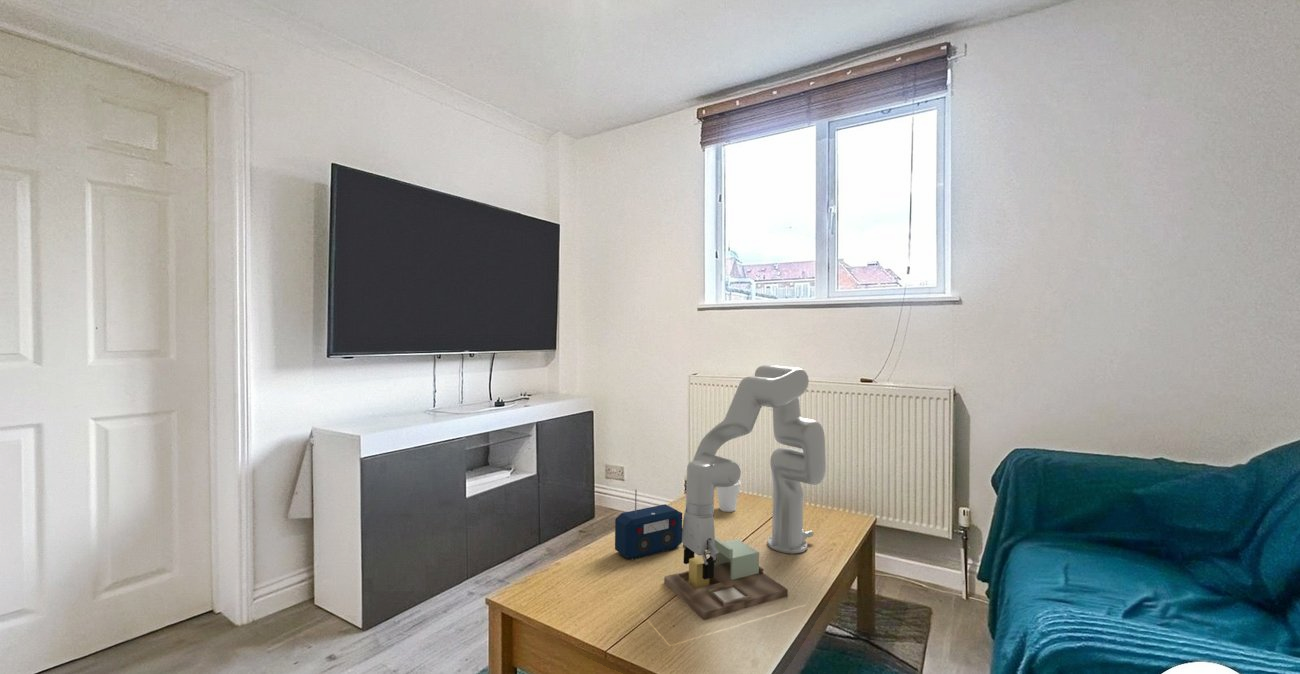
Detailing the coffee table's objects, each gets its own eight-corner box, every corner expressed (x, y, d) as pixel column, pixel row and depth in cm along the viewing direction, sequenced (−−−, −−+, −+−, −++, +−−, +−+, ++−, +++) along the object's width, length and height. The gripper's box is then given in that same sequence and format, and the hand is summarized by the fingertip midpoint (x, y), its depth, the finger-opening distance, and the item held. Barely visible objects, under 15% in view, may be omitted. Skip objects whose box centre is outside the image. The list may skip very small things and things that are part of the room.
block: (701, 580, 145) (701, 556, 144) (709, 586, 141) (709, 561, 141) (688, 583, 143) (689, 558, 143) (696, 590, 139) (696, 564, 139)
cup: (714, 513, 198) (714, 484, 198) (715, 504, 208) (715, 477, 207) (740, 515, 196) (740, 486, 196) (740, 506, 206) (740, 478, 206)
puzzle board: (741, 565, 154) (741, 554, 154) (787, 596, 137) (787, 584, 137) (664, 583, 143) (664, 572, 143) (703, 620, 125) (704, 607, 125)
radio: (627, 563, 155) (628, 496, 155) (613, 552, 162) (614, 488, 162) (684, 548, 166) (685, 486, 166) (669, 538, 173) (669, 479, 173)
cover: (737, 558, 154) (737, 530, 154) (758, 573, 145) (759, 543, 145) (708, 565, 149) (709, 536, 149) (729, 580, 140) (729, 549, 140)
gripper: (672, 499, 147) (670, 560, 148) (705, 520, 132) (703, 587, 132) (694, 496, 151) (693, 555, 151) (729, 516, 135) (728, 581, 136)
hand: (698, 570), depth 142 cm, fingers open, 9 cm apart
